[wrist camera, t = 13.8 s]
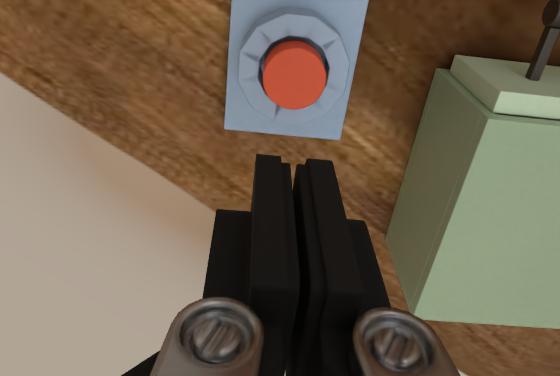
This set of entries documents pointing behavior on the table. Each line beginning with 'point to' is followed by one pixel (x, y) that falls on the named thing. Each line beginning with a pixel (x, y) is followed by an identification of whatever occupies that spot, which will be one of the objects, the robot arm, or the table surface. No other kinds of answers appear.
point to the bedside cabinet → (479, 214)
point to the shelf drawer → (517, 77)
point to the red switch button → (294, 74)
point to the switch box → (279, 28)
